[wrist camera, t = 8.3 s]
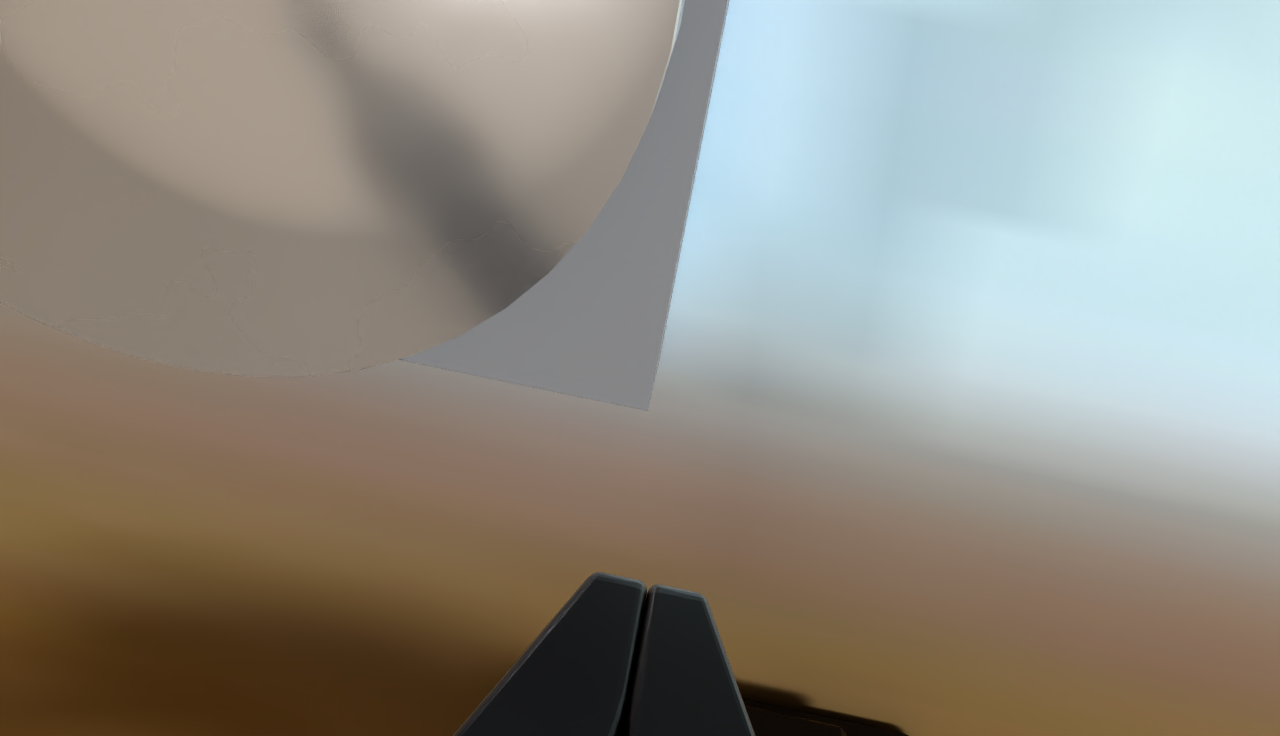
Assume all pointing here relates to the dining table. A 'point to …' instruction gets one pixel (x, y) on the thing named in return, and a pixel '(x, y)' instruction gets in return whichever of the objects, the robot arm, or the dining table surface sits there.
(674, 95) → the wheel base
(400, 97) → the handwheel
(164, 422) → the dining table surface
